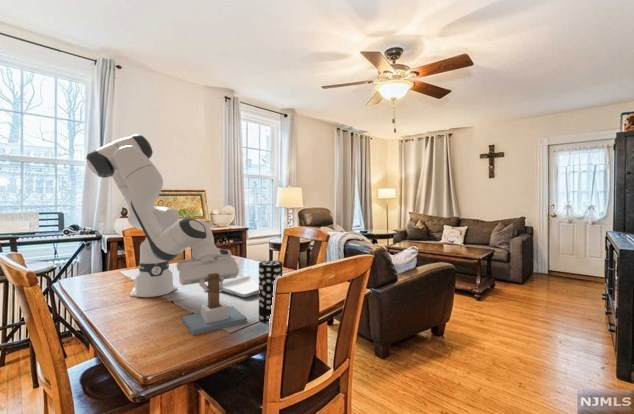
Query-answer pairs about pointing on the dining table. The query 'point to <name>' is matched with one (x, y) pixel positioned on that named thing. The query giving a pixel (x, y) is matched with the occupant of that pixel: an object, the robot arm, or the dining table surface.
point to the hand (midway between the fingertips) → (214, 290)
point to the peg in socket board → (213, 318)
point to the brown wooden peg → (213, 290)
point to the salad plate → (242, 286)
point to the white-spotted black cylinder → (267, 287)
